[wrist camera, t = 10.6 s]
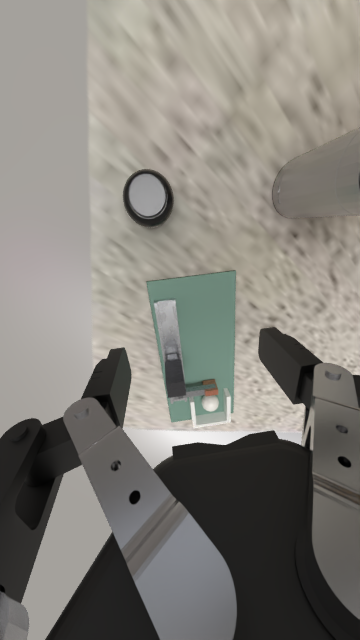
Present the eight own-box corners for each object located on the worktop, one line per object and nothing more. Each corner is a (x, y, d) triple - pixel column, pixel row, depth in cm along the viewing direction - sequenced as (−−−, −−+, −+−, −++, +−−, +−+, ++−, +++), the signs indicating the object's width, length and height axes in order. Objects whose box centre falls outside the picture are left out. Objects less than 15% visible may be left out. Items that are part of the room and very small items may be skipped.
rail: (174, 297, 42) (175, 300, 40) (186, 396, 54) (187, 401, 52) (153, 300, 42) (153, 303, 40) (170, 399, 54) (170, 403, 52)
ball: (215, 396, 56) (216, 389, 52) (219, 412, 53) (221, 406, 50) (200, 398, 56) (200, 391, 52) (203, 415, 53) (203, 409, 49)
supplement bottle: (177, 214, 36) (186, 210, 25) (144, 234, 37) (139, 239, 26) (157, 172, 33) (156, 147, 22) (122, 195, 34) (105, 182, 23)
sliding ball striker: (213, 345, 47) (226, 374, 38) (214, 384, 52) (226, 417, 43) (164, 352, 47) (165, 383, 38) (170, 391, 52) (172, 426, 43)
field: (235, 270, 41) (235, 270, 41) (232, 411, 59) (233, 412, 58) (146, 281, 40) (146, 282, 40) (171, 421, 58) (171, 422, 58)
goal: (227, 387, 54) (230, 396, 51) (227, 413, 58) (230, 422, 55) (188, 393, 53) (190, 402, 51) (191, 418, 58) (193, 428, 55)
